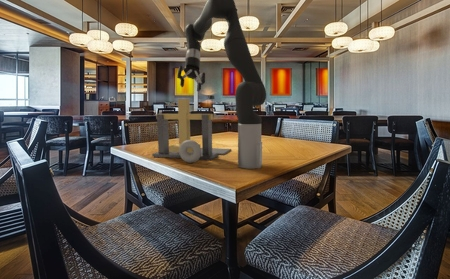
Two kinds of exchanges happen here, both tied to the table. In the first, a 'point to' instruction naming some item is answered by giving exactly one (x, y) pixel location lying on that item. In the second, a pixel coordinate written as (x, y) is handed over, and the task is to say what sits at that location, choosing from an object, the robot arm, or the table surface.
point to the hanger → (183, 123)
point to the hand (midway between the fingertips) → (190, 88)
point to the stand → (205, 154)
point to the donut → (196, 149)
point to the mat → (219, 151)
